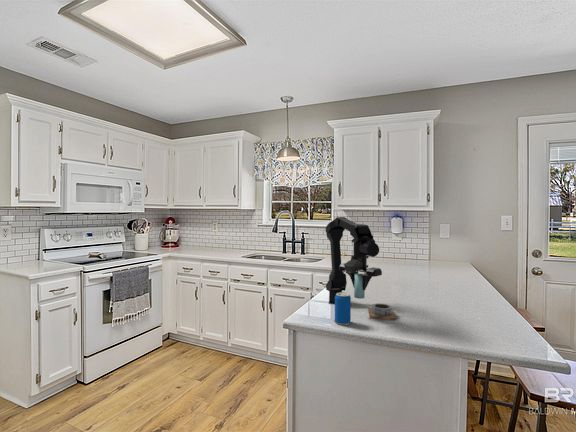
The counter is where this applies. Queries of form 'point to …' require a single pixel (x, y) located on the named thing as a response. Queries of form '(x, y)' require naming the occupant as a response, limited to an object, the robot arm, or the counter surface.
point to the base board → (371, 315)
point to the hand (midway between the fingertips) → (359, 289)
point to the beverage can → (342, 308)
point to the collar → (382, 309)
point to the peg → (359, 286)
